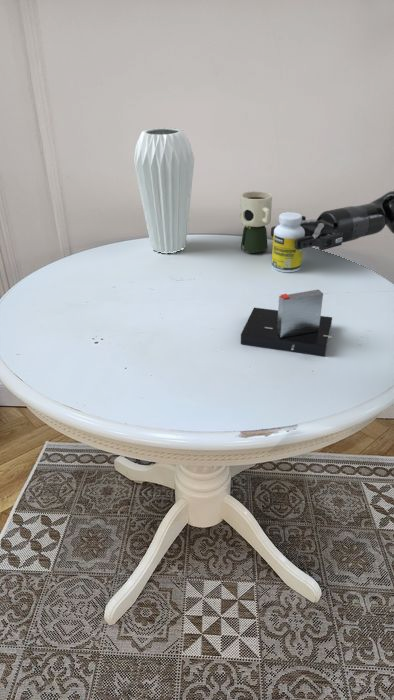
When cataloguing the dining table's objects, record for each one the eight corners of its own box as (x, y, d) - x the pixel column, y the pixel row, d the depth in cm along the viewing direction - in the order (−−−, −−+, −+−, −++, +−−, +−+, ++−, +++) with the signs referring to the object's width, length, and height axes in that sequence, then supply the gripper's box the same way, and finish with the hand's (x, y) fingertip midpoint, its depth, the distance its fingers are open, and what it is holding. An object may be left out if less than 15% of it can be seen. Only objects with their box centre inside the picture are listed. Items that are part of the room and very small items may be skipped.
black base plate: (334, 327, 94) (336, 316, 93) (326, 365, 84) (328, 354, 83) (253, 316, 98) (253, 306, 97) (236, 352, 88) (236, 340, 86)
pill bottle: (265, 267, 117) (268, 215, 111) (284, 259, 120) (288, 208, 114) (288, 276, 113) (292, 222, 106) (307, 267, 116) (312, 215, 110)
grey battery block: (314, 326, 90) (318, 287, 86) (318, 331, 89) (323, 292, 85) (276, 333, 88) (279, 294, 85) (280, 338, 87) (283, 298, 83)
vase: (129, 250, 127) (118, 133, 113) (167, 234, 135) (161, 123, 121) (170, 263, 119) (163, 139, 105) (207, 246, 128) (206, 129, 114)
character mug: (229, 245, 128) (230, 191, 121) (254, 240, 131) (257, 187, 124) (253, 261, 120) (255, 203, 113) (279, 255, 122) (283, 199, 115)
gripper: (324, 200, 122) (265, 211, 116) (368, 217, 111) (306, 231, 105) (320, 232, 126) (263, 244, 120) (363, 251, 115) (302, 266, 109)
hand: (283, 238), depth 112 cm, fingers open, 8 cm apart
